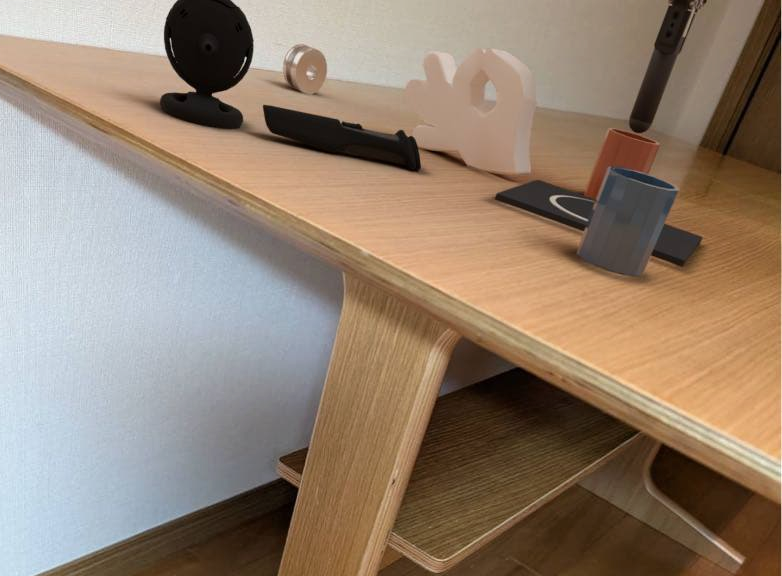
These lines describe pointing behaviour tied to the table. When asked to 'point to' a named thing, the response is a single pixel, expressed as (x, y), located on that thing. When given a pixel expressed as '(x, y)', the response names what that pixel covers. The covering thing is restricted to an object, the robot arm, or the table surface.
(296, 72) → the metal grooved wheel
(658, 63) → the rod
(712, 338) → the table surface
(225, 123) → the webcam
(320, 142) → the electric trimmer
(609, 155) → the pen pot
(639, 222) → the pen cup
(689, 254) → the drawing pad
